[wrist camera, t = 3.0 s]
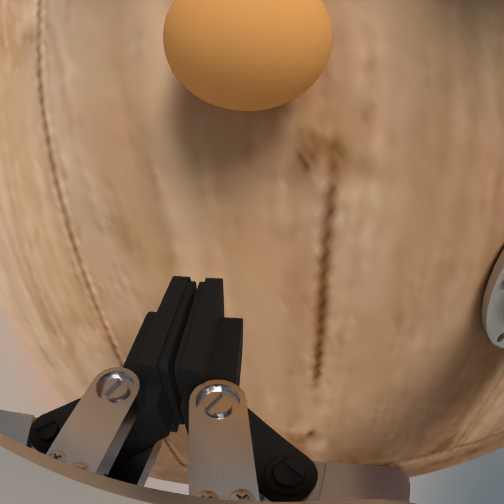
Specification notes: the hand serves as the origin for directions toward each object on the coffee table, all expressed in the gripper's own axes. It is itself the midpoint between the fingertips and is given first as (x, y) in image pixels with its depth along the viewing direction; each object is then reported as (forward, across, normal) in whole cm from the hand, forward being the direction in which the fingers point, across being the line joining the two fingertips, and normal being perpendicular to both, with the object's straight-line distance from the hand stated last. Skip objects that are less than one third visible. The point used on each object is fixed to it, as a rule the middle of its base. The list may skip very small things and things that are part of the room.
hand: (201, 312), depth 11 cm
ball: (+3, -1, -9) cm, 10 cm away
